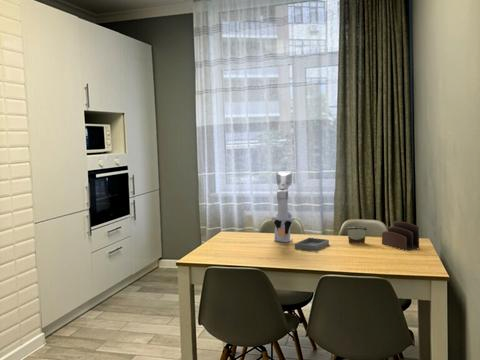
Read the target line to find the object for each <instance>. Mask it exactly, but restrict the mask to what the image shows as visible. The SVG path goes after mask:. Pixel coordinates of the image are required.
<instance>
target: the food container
mask: <svg viewBox="0 0 480 360" xmlns="http://www.w3.org/2000/svg"><path fill="white" fill-rule="evenodd" d="M345 231H347V236H348V237H347V238H348V244H365V243H366V234H367V231H368V228H367V226H365V225H356V224H355V225H353V224H352V225H348V226H347V227H346V230H345Z"/></svg>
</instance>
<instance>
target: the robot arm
mask: <svg viewBox="0 0 480 360" xmlns="http://www.w3.org/2000/svg"><path fill="white" fill-rule="evenodd" d="M275 173H276V174H275V176H276V177H275V178H276V179H275V180H276V184H277V186H278V188H277V191H276V200H277V214H276V216H271V218H270V219H271V221H274V222H273V223H274V225H275V227H274V240H273V241H275V242H283V243H288V242H291V241H293V240H294V239H293V238H291V227H292V226H293V223H295V222H296V221H295V218H293V214H292V213H291V212H290V211H289V210H288V205H289V190H288V189H289V187H290V186H291V185H292V183H293V182H292V181H293V172H292V171H276V172H275ZM280 227H285V234H288V236H287V237H278V228H280Z"/></svg>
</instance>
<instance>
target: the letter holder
mask: <svg viewBox="0 0 480 360" xmlns="http://www.w3.org/2000/svg"><path fill="white" fill-rule="evenodd" d="M419 230H420V226H418V225H416V224H413V223H409V222H407V221H399V220H398V221H393V226H388V227H387V230H386V231H382V233H381V234H382V235H381V245H384V246H387V245H388V247H391V246H392V248H394V247H396V248H395V249H398V248H400V249H399V250H401V249H404V250H403V251H405V250H409V251H411V250H410V249H416V250H418V249H417V248H419V249H420V231H419Z"/></svg>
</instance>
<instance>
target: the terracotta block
mask: <svg viewBox="0 0 480 360" xmlns="http://www.w3.org/2000/svg"><path fill="white" fill-rule="evenodd" d="M287 236H288V234H285V227H280V228H278V237H287Z"/></svg>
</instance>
